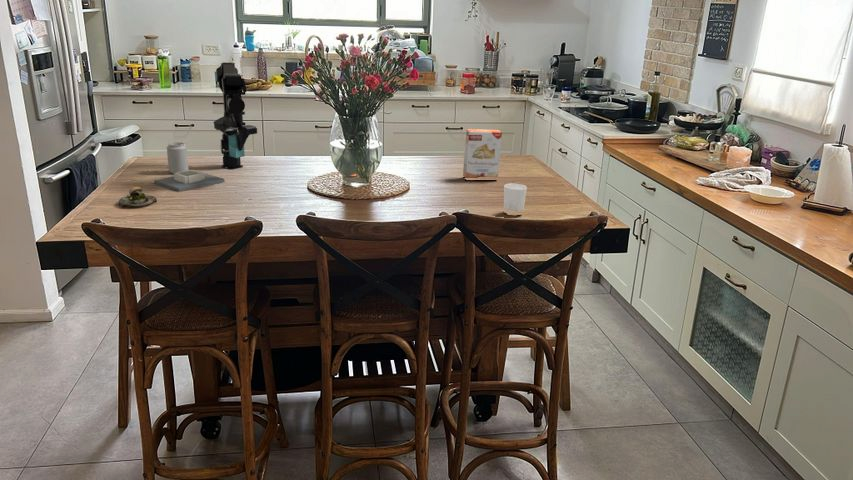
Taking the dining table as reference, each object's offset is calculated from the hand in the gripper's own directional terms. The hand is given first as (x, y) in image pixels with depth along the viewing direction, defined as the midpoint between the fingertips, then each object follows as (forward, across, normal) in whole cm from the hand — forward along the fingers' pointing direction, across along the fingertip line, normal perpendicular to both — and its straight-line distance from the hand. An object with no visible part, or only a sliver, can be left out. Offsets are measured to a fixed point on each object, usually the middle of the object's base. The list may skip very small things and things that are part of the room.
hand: (236, 149), depth 255 cm
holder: (+12, -11, -14) cm, 22 cm away
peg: (+2, 0, 0) cm, 2 cm away
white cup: (+13, +101, +40) cm, 109 cm away
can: (+13, -27, -8) cm, 31 cm away
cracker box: (+13, +67, +72) cm, 99 cm away
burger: (+13, 0, -42) cm, 44 cm away
